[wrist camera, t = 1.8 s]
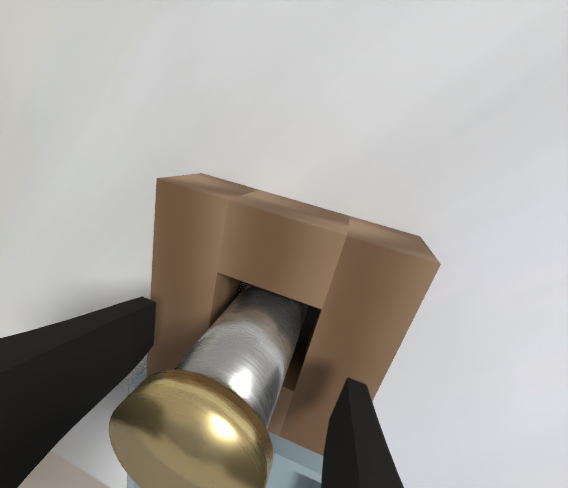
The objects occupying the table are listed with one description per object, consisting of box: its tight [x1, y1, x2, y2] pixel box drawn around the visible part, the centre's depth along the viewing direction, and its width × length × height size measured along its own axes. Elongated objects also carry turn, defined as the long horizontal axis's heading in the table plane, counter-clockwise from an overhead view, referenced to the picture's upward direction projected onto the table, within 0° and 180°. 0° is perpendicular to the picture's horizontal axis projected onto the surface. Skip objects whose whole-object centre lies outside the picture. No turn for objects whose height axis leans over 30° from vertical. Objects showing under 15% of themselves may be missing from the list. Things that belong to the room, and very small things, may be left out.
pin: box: [109, 284, 309, 488], centre depth 10 cm, size 4×4×8 cm
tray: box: [127, 368, 323, 488], centre depth 17 cm, size 12×10×2 cm
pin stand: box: [147, 173, 441, 456], centre depth 12 cm, size 10×10×3 cm
